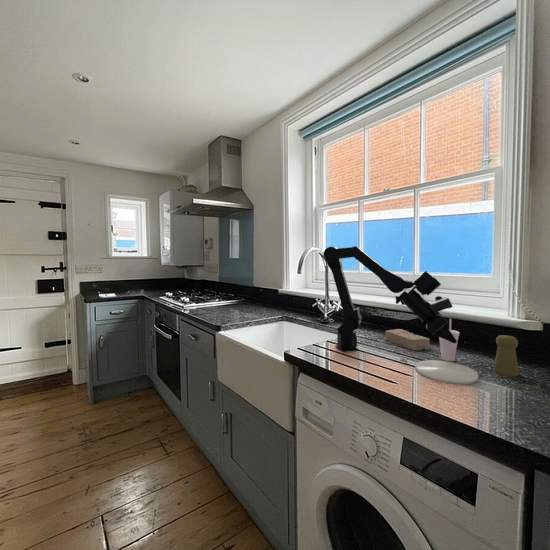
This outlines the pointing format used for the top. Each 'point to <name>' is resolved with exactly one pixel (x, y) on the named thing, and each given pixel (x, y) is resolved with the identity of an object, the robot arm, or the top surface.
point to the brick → (407, 339)
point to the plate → (446, 372)
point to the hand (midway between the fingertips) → (453, 339)
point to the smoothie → (448, 346)
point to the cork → (506, 356)
